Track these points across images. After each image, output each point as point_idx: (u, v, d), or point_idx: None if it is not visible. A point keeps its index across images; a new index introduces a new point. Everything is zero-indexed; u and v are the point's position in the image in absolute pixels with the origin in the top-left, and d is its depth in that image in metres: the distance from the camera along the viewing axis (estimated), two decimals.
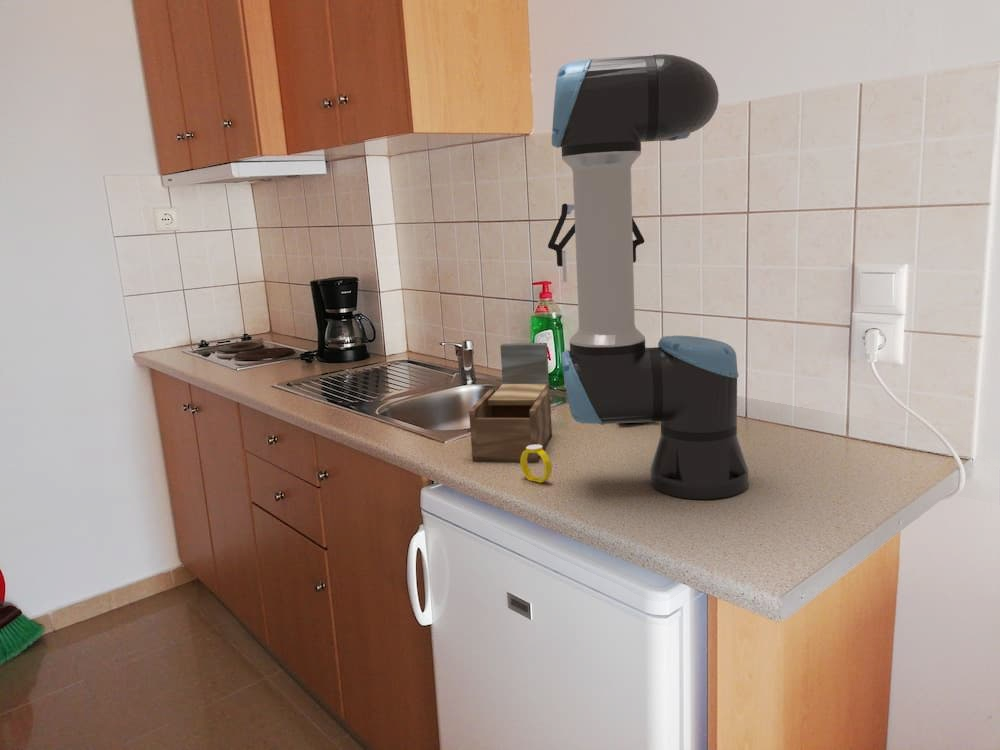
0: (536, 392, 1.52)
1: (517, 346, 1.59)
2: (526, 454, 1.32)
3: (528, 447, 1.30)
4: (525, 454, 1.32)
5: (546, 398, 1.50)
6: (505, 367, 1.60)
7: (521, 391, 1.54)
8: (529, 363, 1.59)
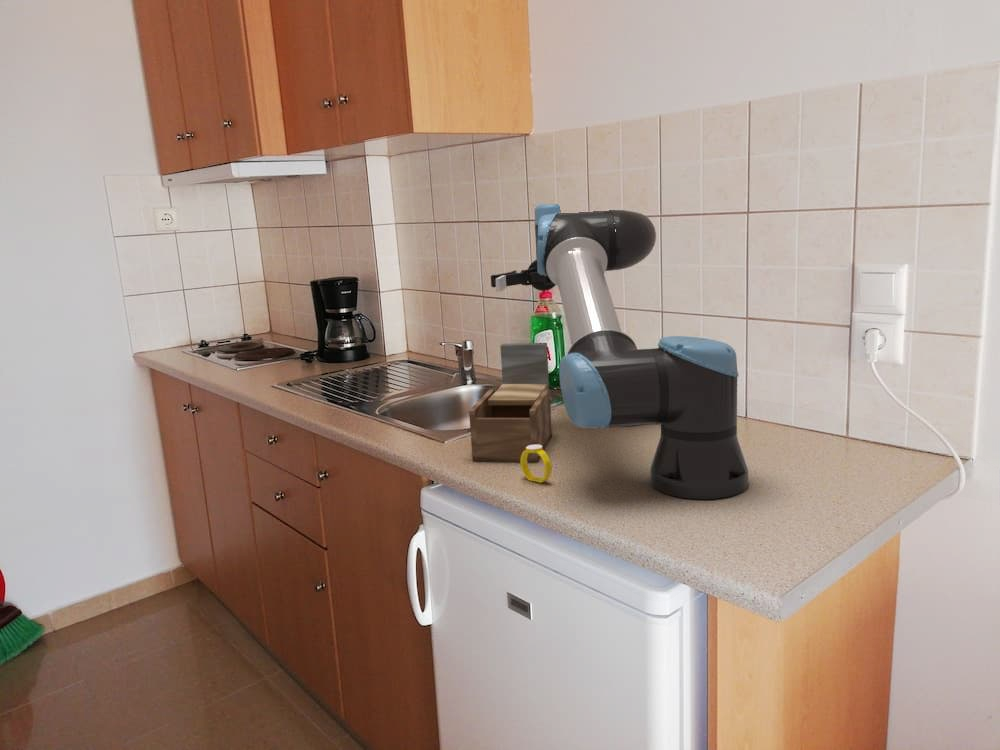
0: (536, 392, 1.52)
1: (517, 346, 1.59)
2: (526, 454, 1.32)
3: (528, 447, 1.30)
4: (525, 454, 1.32)
5: (546, 398, 1.50)
6: (505, 367, 1.60)
7: (521, 391, 1.54)
8: (529, 363, 1.59)
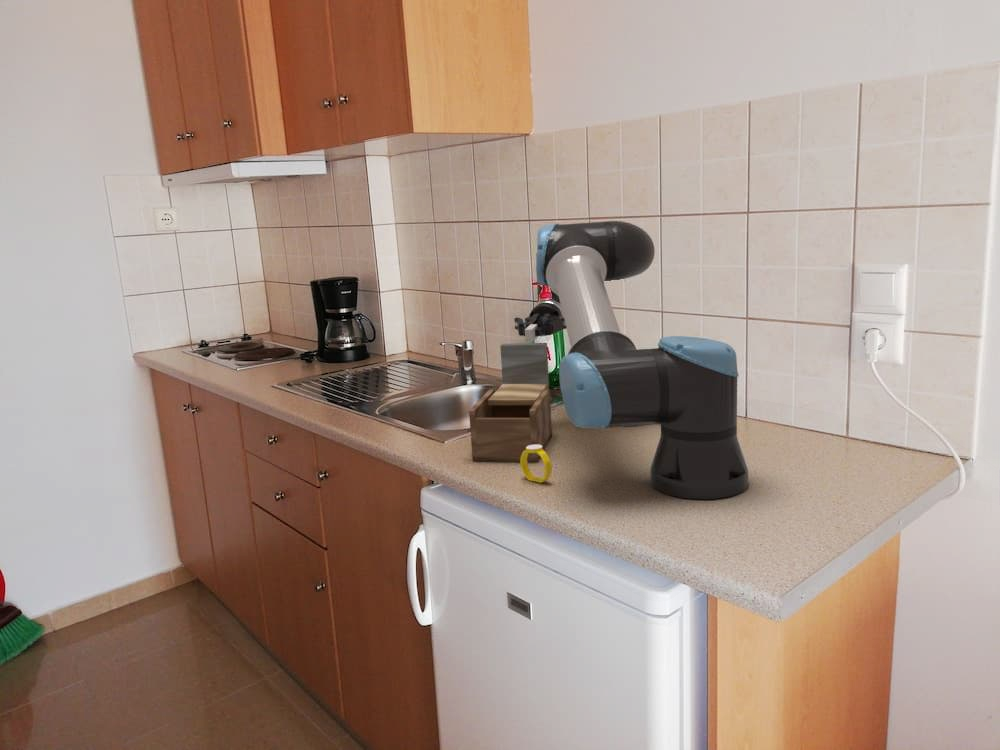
0: (536, 392, 1.52)
1: (517, 346, 1.59)
2: (526, 454, 1.32)
3: (528, 447, 1.30)
4: (525, 454, 1.32)
5: (546, 398, 1.50)
6: (505, 367, 1.60)
7: (521, 391, 1.54)
8: (529, 363, 1.59)
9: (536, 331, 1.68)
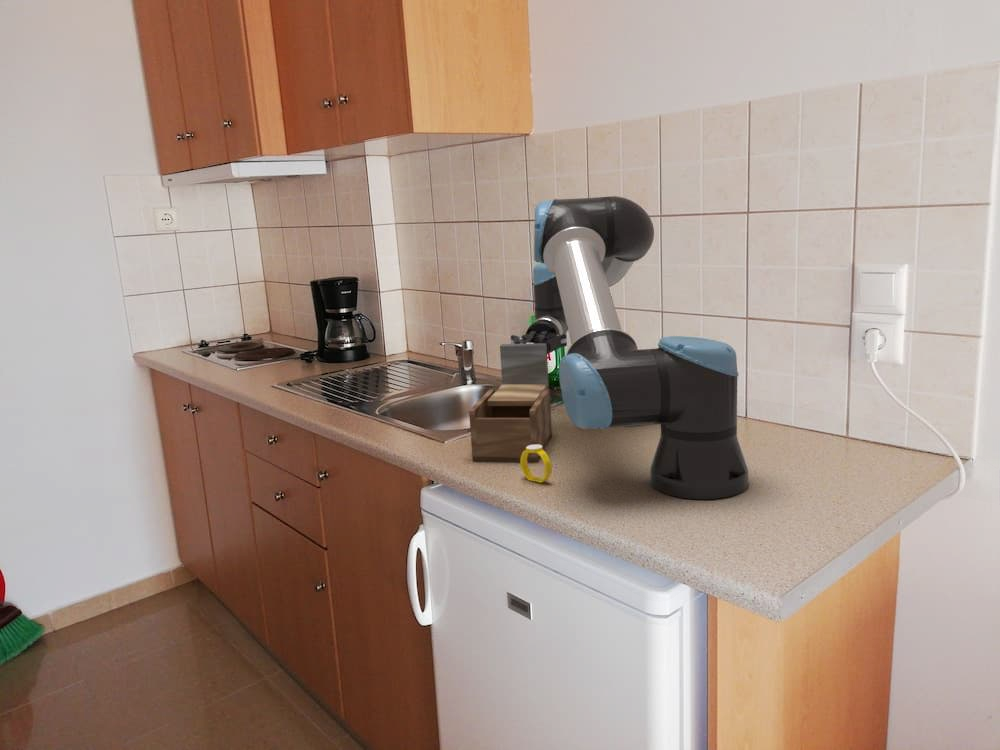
0: (536, 393, 1.52)
1: (517, 346, 1.58)
2: (526, 454, 1.32)
3: (528, 447, 1.30)
4: (525, 454, 1.32)
5: (546, 398, 1.50)
6: (505, 367, 1.60)
7: (521, 392, 1.53)
8: (529, 363, 1.58)
9: None
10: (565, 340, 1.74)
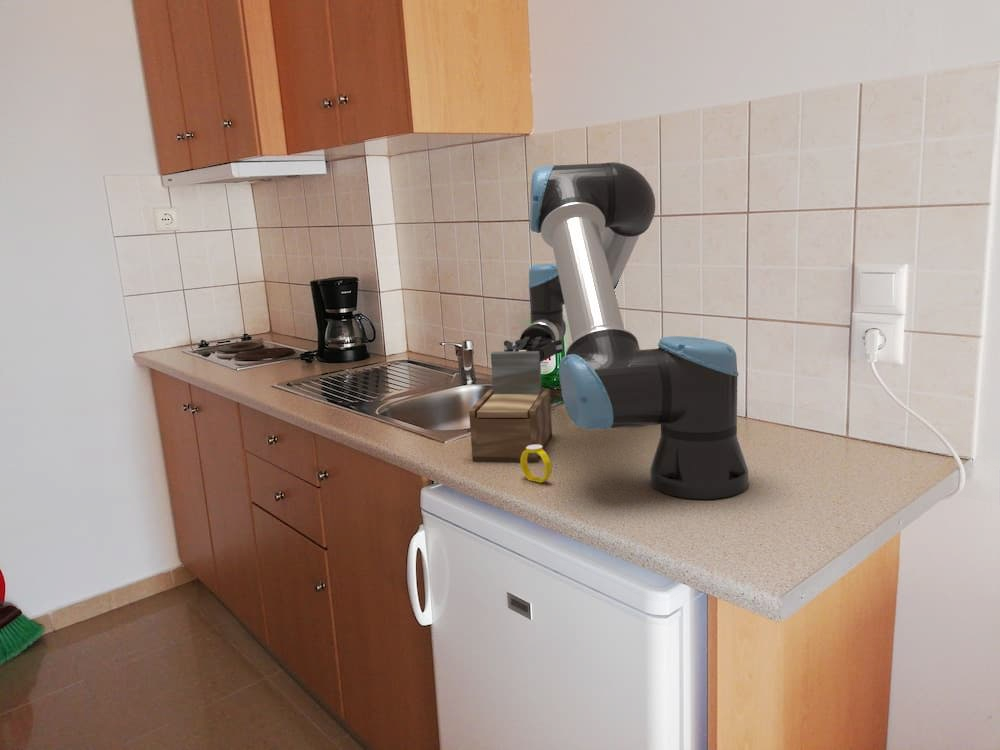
0: (528, 403, 1.44)
1: (508, 354, 1.51)
2: (526, 454, 1.32)
3: (528, 447, 1.30)
4: (525, 454, 1.32)
5: (546, 398, 1.50)
6: (496, 376, 1.52)
7: (512, 402, 1.46)
8: (521, 372, 1.51)
9: None
10: (560, 346, 1.66)
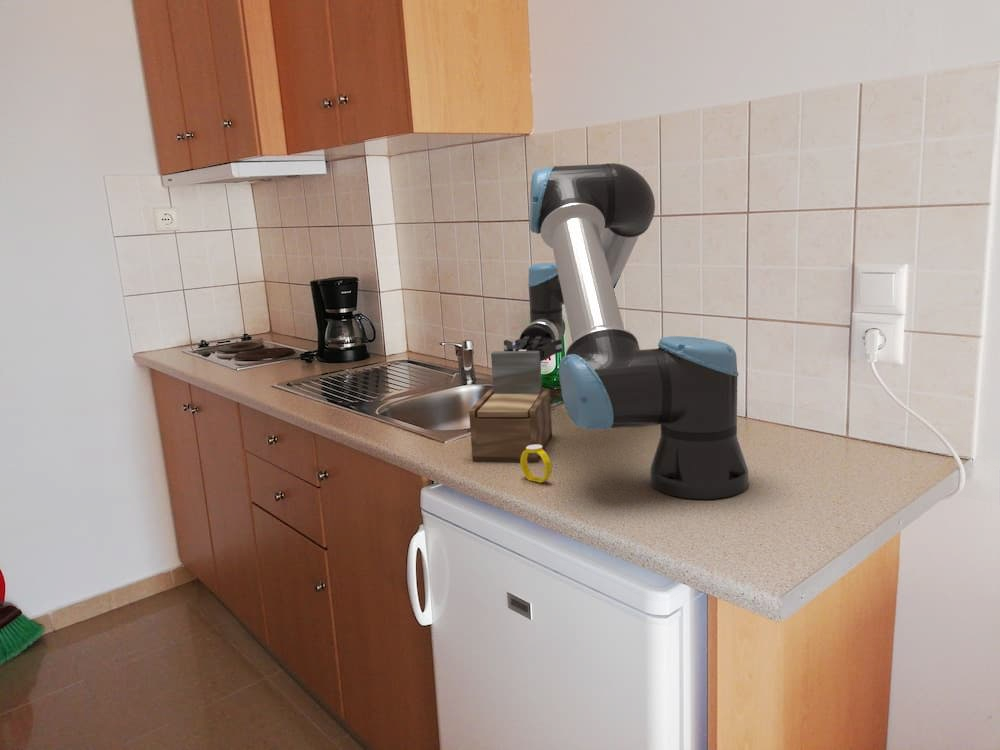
0: (528, 403, 1.45)
1: (508, 354, 1.51)
2: (526, 454, 1.32)
3: (528, 447, 1.30)
4: (525, 454, 1.32)
5: (546, 398, 1.50)
6: (496, 376, 1.52)
7: (512, 402, 1.46)
8: (521, 372, 1.51)
9: None
10: (560, 346, 1.67)
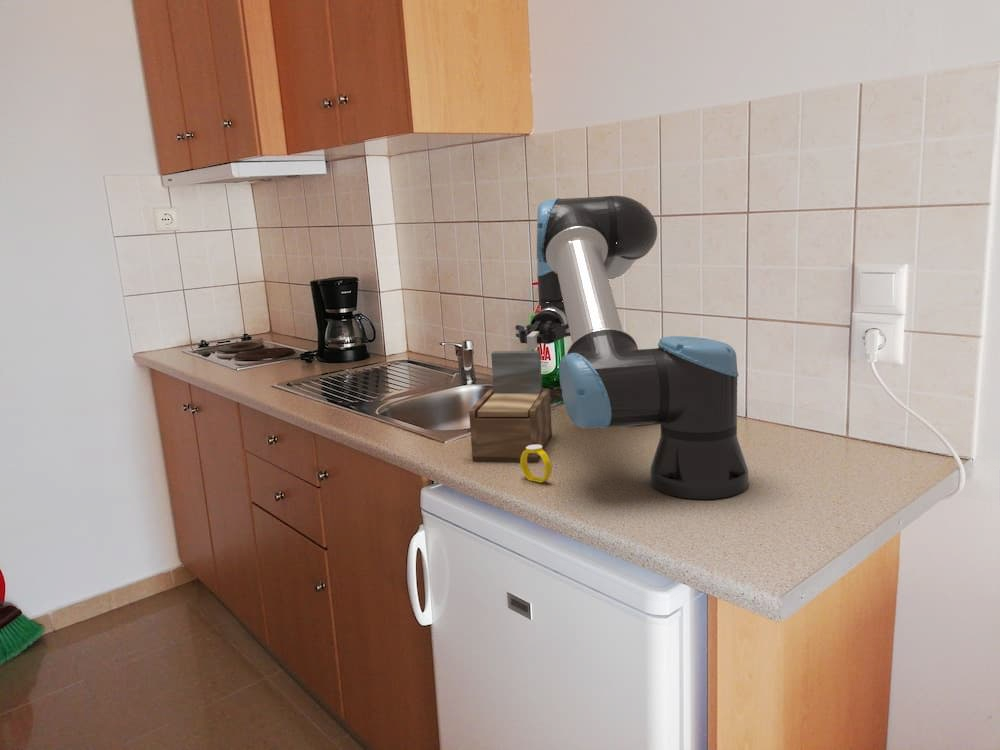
0: (528, 403, 1.45)
1: (509, 354, 1.51)
2: (526, 454, 1.32)
3: (528, 447, 1.30)
4: (525, 454, 1.32)
5: (546, 398, 1.50)
6: (496, 376, 1.53)
7: (513, 402, 1.46)
8: (521, 372, 1.51)
9: (538, 338, 1.64)
10: None
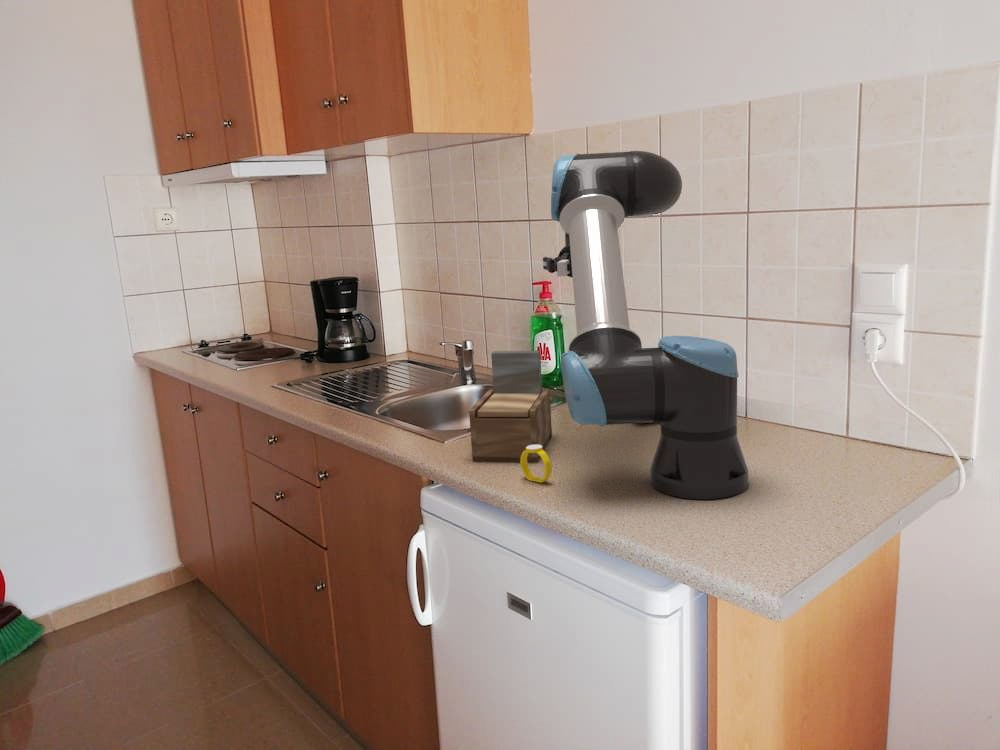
0: (528, 403, 1.45)
1: (509, 354, 1.51)
2: (526, 454, 1.32)
3: (528, 447, 1.30)
4: (525, 454, 1.32)
5: (546, 398, 1.50)
6: (496, 376, 1.53)
7: (513, 402, 1.46)
8: (521, 372, 1.51)
9: (568, 266, 1.57)
10: None
